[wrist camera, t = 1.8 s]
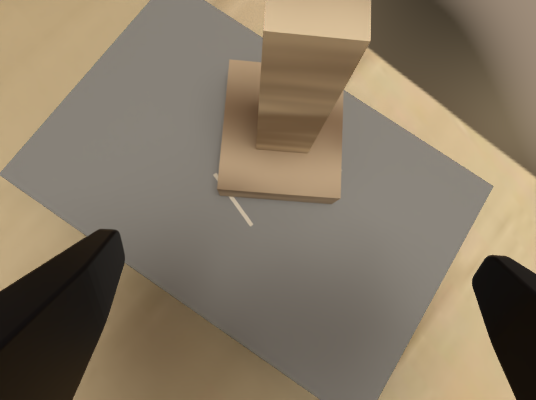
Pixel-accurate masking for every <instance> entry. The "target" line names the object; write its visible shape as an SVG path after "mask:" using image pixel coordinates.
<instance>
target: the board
mask: <svg viewBox="0 0 536 400" xmlns="http://www.w3.org/2000/svg"><path fill="white" fill-rule="evenodd" d="M262 43H263V38H262V37H261V36H259V35H257V34H256V33H254V32H253V31H251V30H250V29H248V28H247V27H245V26H243V25H242V24H240V23H239V22H237V21H236V20H234V19H233V18H231V17H229V16H228V15H226V14H225V13H223V12H222V11H220V10H219V9H217V8H215V7H214V6H212V5H211V4H209V3H208V2H206V1H205V0H150V1H149V2H148V4H147V5H146V6H145V7H144V8H143V9H142V10H141V12H140V13H139V14H138V15H137V16H136V17H135V18H134V20H133V21H132V22H131V23H130V24H129V25H128V27H127V28H126V29H125V30H124V31H123V32H122V33H121V35H120V36H119V37H118V38H117V39H116V40H115V41H114V43H113V44H112V45H111V46H110V47H109V48H108V49H107V51H106V52H105V53H104V54H103V55H102V56H101V58H100V59H99V60H98V61H97V62H96V63H95V64H94V66H93V67H92V68H91V69H90V70H89V71H88V72H87V74H86V75H85V76H84V77H83V78H82V79H81V80H80V82H79V83H78V84H77V85H76V86H75V87H74V89H73V90H72V91H71V92H70V93H69V94H68V95H67V97H66V98H65V99H64V100H63V101H62V102H61V103H60V105H59V106H58V107H57V108H56V109H55V110H54V111H53V113H52V114H51V115H50V116H49V117H48V118H47V120H46V121H45V122H44V123H43V124H42V125H41V126H40V128H39V129H38V130H37V131H36V132H35V133H34V134H33V136H32V137H31V138H30V139H29V140H28V141H27V142H26V144H25V145H24V146H23V147H22V148H21V149H20V151H19V152H18V153H17V154H16V155H15V156H14V157H13V159H12V160H11V161H10V162H9V163H8V164H7V165H6V167H5V168H4V169H3V170H2V171H1V172H0V176H2V177H3V178H4V179H6V180H7V181H9V182H10V183H12V184H13V185H14V186H16V187H17V188H19V189H20V190H22V191H23V192H24V193H26V194H27V195H29V196H30V197H32V198H33V199H34V200H36V201H37V202H39V203H40V204H42V205H43V206H44V207H46V208H47V209H49V210H50V211H52V212H53V213H54V214H56V215H57V216H59V217H60V218H62V219H63V220H64V221H66V222H67V223H69V224H70V225H72V226H73V227H74V228H76V229H77V230H79V231H80V232H82V233H83V234H84V235H86V236H88V235H90V234H92V233H93V232H95V231H96V230H98V229H116V230H118V231H119V233H120V235H121V240H122V244H123V248H124V253H125V262H124V263H126V264H127V265H129V266H130V267H132V268H133V269H134V270H136V271H137V272H139V273H140V274H142V275H143V276H144V277H146V278H147V279H149V280H150V281H152V282H153V283H154V284H156V285H157V286H159V287H160V288H162V289H163V290H164V291H166V292H167V293H169V294H170V295H172V296H173V297H174V298H176V299H177V300H179V301H180V302H182V303H183V304H184V305H186V306H187V307H189V308H190V309H192V310H193V311H194V312H196V313H197V314H199V315H200V316H202V317H203V318H204V319H206V320H207V321H209V322H210V323H212V324H213V325H214V326H216V327H217V328H219V329H220V330H222V331H223V332H224V333H226V334H227V335H229V336H230V337H232V338H233V339H234V340H236V341H237V342H239V343H240V344H242V345H243V346H244V347H246V348H247V349H249V350H250V351H252V352H253V353H254V354H256V355H257V356H259V357H260V358H262V359H263V360H264V361H266V362H267V363H269V364H270V365H272V366H273V367H274V368H276V369H277V370H279V371H280V372H282V373H283V374H284V375H286V376H287V377H289V378H290V379H292V380H293V381H294V382H296V383H297V384H299V385H300V386H302V387H303V388H304V389H306V390H307V391H309V392H310V393H312V394H313V395H314V396H316V397H317V398H319V399H320V400H378V398H379V396H380V394H381V393H382V391H383V389H384V387H385V385H386V383H387V381H388V380H389V378H390V376H391V374H392V372H393V370H394V369H395V367H396V365H397V363H398V361H399V359H400V358H401V356H402V354H403V352H404V350H405V348H406V347H407V345H408V343H409V341H410V339H411V337H412V335H413V334H414V332H415V330H416V328H417V326H418V324H419V323H420V321H421V319H422V317H423V315H424V313H425V312H426V310H427V308H428V306H429V304H430V302H431V301H432V299H433V297H434V295H435V293H436V291H437V289H438V288H439V286H440V284H441V282H442V280H443V278H444V277H445V275H446V273H447V271H448V269H449V267H450V266H451V264H452V262H453V260H454V258H455V256H456V254H457V253H458V251H459V249H460V247H461V245H462V243H463V242H464V240H465V238H466V236H467V234H468V232H469V231H470V229H471V227H472V225H473V223H474V221H475V220H476V218H477V216H478V214H479V212H480V210H481V208H482V207H483V205H484V203H485V201H486V199H487V197H488V196H489V194H490V192H491V190H492V188H493V186H492V185H491V184H489V183H488V182H486V181H485V180H483V179H482V178H480V177H478V176H477V175H475V174H474V173H472V172H471V171H469V170H468V169H466V168H464V167H463V166H461V165H460V164H458V163H457V162H455V161H454V160H452V159H450V158H449V157H447V156H446V155H444V154H443V153H441V152H440V151H438V150H436V149H435V148H433V147H432V146H430V145H429V144H427V143H426V142H424V141H422V140H421V139H419V138H418V137H416V136H415V135H413V134H412V133H410V132H408V131H407V130H405V129H404V128H402V127H401V126H399V125H398V124H396V123H394V122H393V121H391V120H390V119H388V118H387V117H385V116H384V115H382V114H380V113H379V112H377V111H376V110H374V109H373V108H371V107H370V106H368V105H366V104H365V103H363V102H362V101H360V100H359V99H357V98H356V97H354V96H352V95H351V94H349V93H348V92H346V91H345V90H344V94H343V130H342V166H341V199H339V200H338V201H336V202H334V203H333V204H323V203H309V202H296V201H283V200H270V199H256V198H243V197H230V196H220V194H219V192H218V190H217V184H218V174H219V163H220V153H221V143H222V132H223V122H224V111H225V101H226V91H227V80H228V70H229V60H241V61H252V62H261V60H262Z"/></svg>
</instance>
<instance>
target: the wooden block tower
mask: <svg viewBox="0 0 536 400" xmlns="http://www.w3.org/2000/svg"><path fill="white" fill-rule="evenodd" d="M370 39H371V0H266V2H265V15H264V28H263V43H262V60H261V62H252V61H241V60H229V70H228V80H227V91H226V101H225V111H224V122H223V132H222V143H221V153H220V163H219V174H218V184H217V190H218V192H219V194H220V196H230V197H243V198H256V199H270V200H283V201H296V202H309V203H323V204H333V203H334V202H336V201H338V200H339V199H341V166H342V130H343V94H344V88H345V86H346V84H347V82H348V81H349V79H350V77H351V75H352V74H353V72H354V70H355V68H356V66H357V65H358V63H359V61H360V59H361V57H362V56H363V54H364V52H365V50H366V49H367V47H368V45H369V43H370Z"/></svg>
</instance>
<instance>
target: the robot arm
mask: <svg viewBox="0 0 536 400" xmlns="http://www.w3.org/2000/svg"><path fill="white" fill-rule="evenodd" d="M124 262H125V253H124V248H123V244H122V240H121V235H120V233H119V231H118V230H116V229H98V230H96V231H95V232H93V233H92V234H90V235H88V236H87V237H85V238H84V239H82V240H80V241H79V242H77V243H76V244H74V245H73V246H71V247H69V248H68V249H66V250H65V251H63V252H62V253H60V254H58V255H57V256H55V257H54V258H52V259H50V260H49V261H47V262H46V263H44V264H43V265H41V266H39V267H38V268H36V269H35V270H33V271H31V272H30V273H28V274H27V275H25V276H24V277H22V278H20V279H19V280H17V281H16V282H14V283H13V284H11V285H9V286H8V287H6V288H5V289H3V290H1V291H0V400H73V397H74V395H75V393H76V390H77V388H78V386H79V384H80V381H81V379H82V377H83V374H84V372H85V370H86V368H87V365H88V363H89V361H90V358H91V356H92V354H93V352H94V349H95V347H96V345H97V342H98V340H99V338H100V336H101V333H102V331H103V328H104V326H105V323H106V321H107V318H108V315H109V312H110V308H111V305H112V302H113V299H114V295H115V292H116V289H117V286H118V282H119V279H120V276H121V273H122V270H123V266H124ZM472 286H473V289H474V292H475V295H476V298H477V301H478V305H479V308H480V311H481V314H482V317H483V320H484V323H485V326H486V329H487V332H488V335H489V337H490V340H491V343H492V346H493V348H494V350H495V353H496V355H497V357H498V360H499V362H500V364H501V366H502V369H503V371H504V373H505V375H506V378H507V380H508V382H509V384H510V387H511V389H512V391H513V393H514V396H515V398H516V400H536V274H535V273H533V272H532V271H530V270H529V269H527V268H525V267H524V266H522V265H521V264H519V263H517V262H516V261H514V260H513V259H511V258H509V257H507V256H498V255H490V256H488V257H486V258H485V259H484V261H483V262H482V264H481V265H480V267H479V269H478V270H477V272H476V273H475V275H474V276H473V279H472Z"/></svg>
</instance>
